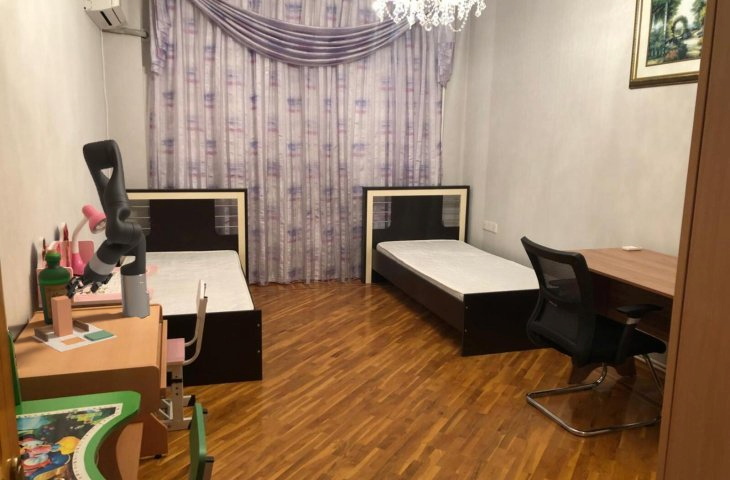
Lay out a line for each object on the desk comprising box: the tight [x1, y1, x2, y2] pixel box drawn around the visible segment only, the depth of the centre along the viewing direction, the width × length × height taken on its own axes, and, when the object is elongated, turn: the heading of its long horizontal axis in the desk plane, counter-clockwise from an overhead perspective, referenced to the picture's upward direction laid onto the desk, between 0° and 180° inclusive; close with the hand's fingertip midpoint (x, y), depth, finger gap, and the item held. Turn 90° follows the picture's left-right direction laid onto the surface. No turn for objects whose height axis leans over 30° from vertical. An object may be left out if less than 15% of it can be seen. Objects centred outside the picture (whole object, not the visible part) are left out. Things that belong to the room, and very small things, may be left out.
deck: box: [31, 322, 118, 353], centre depth 196 cm, size 19×22×1 cm
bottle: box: [37, 248, 71, 326], centre depth 209 cm, size 11×11×28 cm
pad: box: [84, 329, 115, 341], centre depth 196 cm, size 7×7×1 cm
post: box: [51, 295, 73, 337], centre depth 197 cm, size 4×4×13 cm
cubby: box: [33, 319, 89, 342], centre depth 198 cm, size 14×9×2 cm, turn 141°
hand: (80, 293), depth 190 cm, fingers open, 8 cm apart
